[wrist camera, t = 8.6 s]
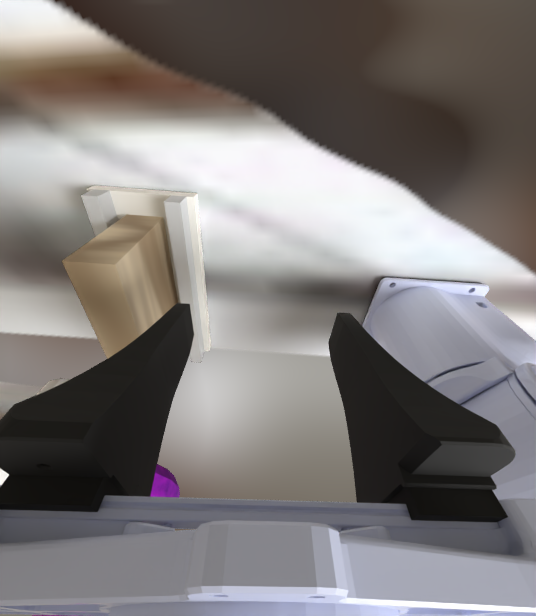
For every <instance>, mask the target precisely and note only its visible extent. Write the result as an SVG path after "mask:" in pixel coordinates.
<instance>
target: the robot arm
mask: <svg viewBox="0 0 536 616" xmlns="http://www.w3.org/2000/svg"><path fill="white" fill-rule="evenodd" d="M391 283H393V284H392V285H390V284H391ZM471 288H472V289H471ZM488 291H489V287H488V286H487V285H486V284H476V283H461V282H446V281H431V280H416V279H401V278H383V279H382V280H381V281H380V283H379V285H378V288H377V290H376V293H375V295H374V298H373V300H372V303H371V305H370V308H369V310H368V313H367V315H366V318H365V320H364V323H363V325H362V326H361V325H360V324H359V322H358V321H357V320H356V319H355V318H354V317H353V316H352V315H351V314H350V313H337V316H336V320H335V323H334V326H333V329H332V333H331V336H330V339H329V350H330V357H331V362H332V366H333V369H334V373H335V377H336V380H337V384H338V387H339V390H340V394H341V398H342V401H343V406H344V410H345V416H346V421H347V427H348V434H349V440H350V447H351V453H352V462H353V469H354V478H355V488H356V497H357V503H353V502H351V503H350V502H318V501H283V500H280V501H279V500H247V499H213V498H211V499H210V498H178V497H150V496H151V491H152V486H153V481H154V476H155V471H156V466H157V461H158V457H159V452H160V448H161V443H162V439H163V435H164V431H165V427H166V423H167V419H168V415H169V411H170V408H171V404H172V401H173V397H174V394H175V392H176V389H177V386H178V384H179V381H180V378H181V376H182V373H183V371H184V368H185V365H186V362H187V360H188V357H189V354H190V351H191V347H192V343H193V338H194V330H193V323H192V316H191V309H190V304H185V303H176V304H175V305H174V306H173V307H172V308H171V309H170V310H169V311H167V312H166V313H165V314H164V315H163V316H162V317H161V318H160V319H159V320H158V321H157V322H155V323H154V324H153V325H152V326H151V327H150V328H149V329H147V330H146V331H145V332H144V333H143V334H141V335H140V336H139V337H138V338H136V339H135V340H134V341H133V342H131V343H130V344H129V345H127V346H126V347H124V348H123V349H122V350H120V351H119V352H117V353H116V354H114V355H113V356H111V357H109V358H108V359H106V360H105V361H103V362H101V363H99V364H98V365H96V366H94V367H93V368H91V369H89V370H87V371H86V372H84V373H82V374H80V375H78V376H76V377H74V378H72V379H71V380H68V381H66V382H64V383H62V384H60V385H58V386H56V387H54V388H52V389H50V390H47V391H45V392H43V393H40V394H38V395H36V396H33V397H31V398H29V399H26V400H24V401H22V402H19V403H17V404H14V405H13V407H12V408H11V409H10V410H9V411H8V412H7V413H6V414H5V415H4V417H3V418H2V419H1V420H0V468H1V469H2V470H3V471H5V472H6V473H8V474H9V476H8V477H7V478H6V480H5V481H4V483H3V484H2V485H0V614H27V615H68V616H536V341H535V340H534V339H533V338H532V337H530V336H529V335H528V334H527V333H526V332H525V331H523V330H522V329H521V328H520V327H519V326H518V325H516V324H515V323H514V322H513V321H512V320H511V319H509V318H508V317H507V316H506V315H505V314H504V313H502V312H501V311H500V310H499V309H498V308H497V307H495V306H494V305H493V304H492V303H491V302H490V301H488V300H487V299H486V298H485V297H484V296H485V295H486V294H487V292H488ZM174 528H177V529H178V528H179V529H195V530H182V531H175V530H174ZM339 532H340V534H339Z"/></svg>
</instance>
